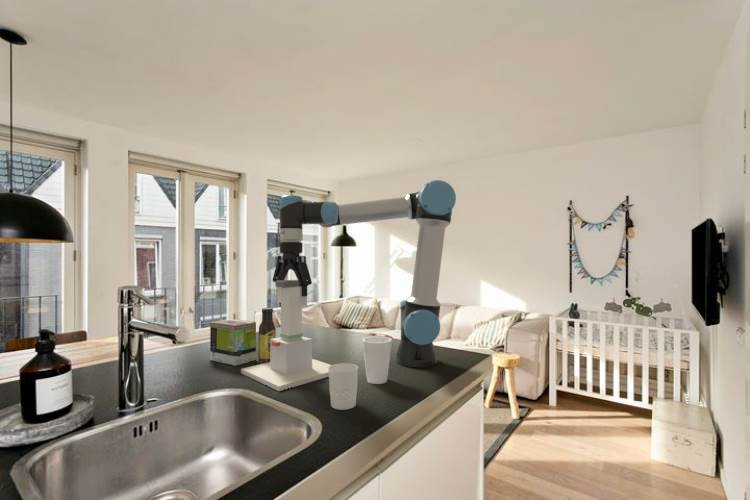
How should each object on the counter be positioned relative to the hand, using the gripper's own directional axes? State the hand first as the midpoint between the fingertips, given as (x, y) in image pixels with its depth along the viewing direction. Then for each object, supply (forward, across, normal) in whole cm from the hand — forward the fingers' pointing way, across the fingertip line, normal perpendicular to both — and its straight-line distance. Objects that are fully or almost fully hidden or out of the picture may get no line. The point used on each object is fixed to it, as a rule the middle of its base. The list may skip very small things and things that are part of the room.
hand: (291, 304), depth 128 cm
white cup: (+23, +33, -5) cm, 41 cm away
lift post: (+14, 0, 0) cm, 14 cm away
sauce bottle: (+23, -18, +1) cm, 30 cm away
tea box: (+24, -29, -7) cm, 38 cm away
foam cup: (+23, +26, +15) cm, 38 cm away
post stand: (+23, 0, 0) cm, 23 cm away
